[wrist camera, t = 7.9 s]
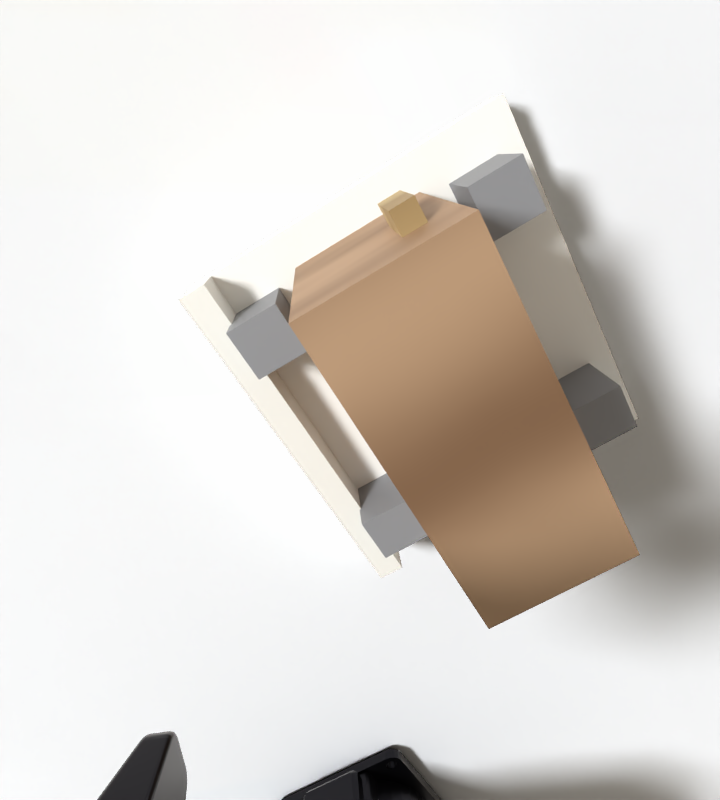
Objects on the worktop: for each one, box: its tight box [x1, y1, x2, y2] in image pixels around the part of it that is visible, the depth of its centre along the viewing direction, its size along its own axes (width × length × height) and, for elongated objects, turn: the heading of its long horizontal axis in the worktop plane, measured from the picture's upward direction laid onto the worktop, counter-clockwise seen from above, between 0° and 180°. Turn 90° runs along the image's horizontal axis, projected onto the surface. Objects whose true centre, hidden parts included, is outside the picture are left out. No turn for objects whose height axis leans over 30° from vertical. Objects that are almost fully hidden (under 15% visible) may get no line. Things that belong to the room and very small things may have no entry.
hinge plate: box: [179, 93, 638, 578], centre depth 17 cm, size 11×10×3 cm
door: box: [288, 190, 640, 629], centre depth 15 cm, size 10×4×6 cm, turn 30°
